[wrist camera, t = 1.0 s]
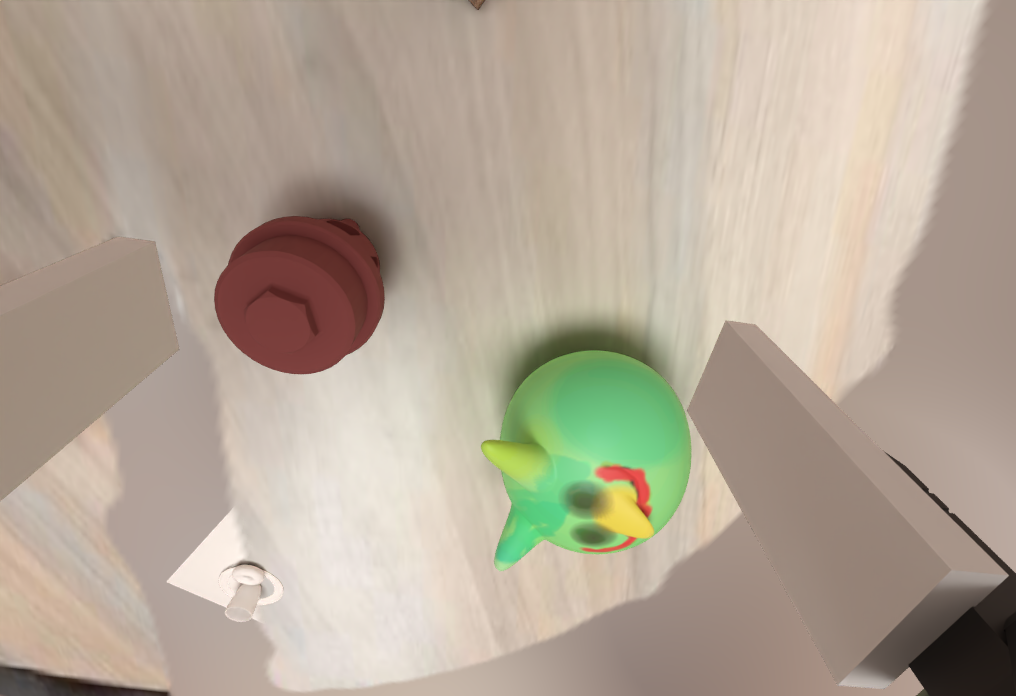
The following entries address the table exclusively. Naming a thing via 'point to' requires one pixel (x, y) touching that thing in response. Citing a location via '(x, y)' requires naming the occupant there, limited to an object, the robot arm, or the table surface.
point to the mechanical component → (301, 293)
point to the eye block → (477, 3)
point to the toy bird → (590, 456)
